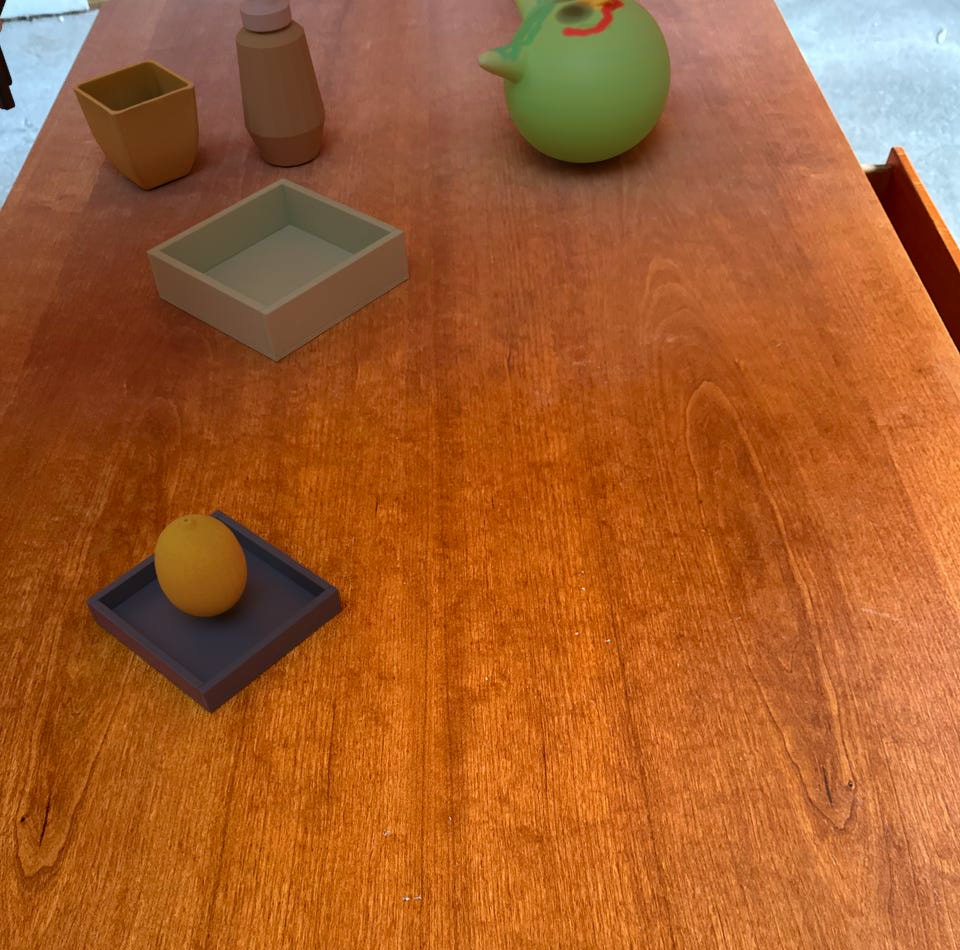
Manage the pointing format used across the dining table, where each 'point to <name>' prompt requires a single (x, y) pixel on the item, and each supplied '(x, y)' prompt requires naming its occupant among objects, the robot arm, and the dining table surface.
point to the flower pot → (143, 121)
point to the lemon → (200, 565)
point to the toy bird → (583, 76)
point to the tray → (218, 621)
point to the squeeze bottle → (278, 84)
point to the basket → (279, 267)
